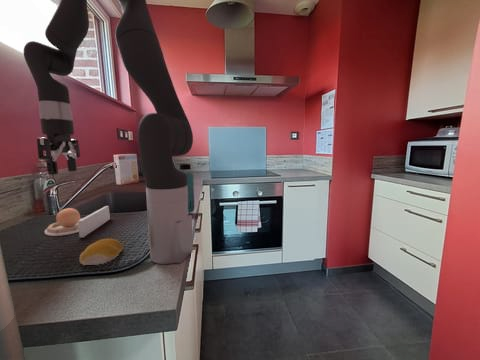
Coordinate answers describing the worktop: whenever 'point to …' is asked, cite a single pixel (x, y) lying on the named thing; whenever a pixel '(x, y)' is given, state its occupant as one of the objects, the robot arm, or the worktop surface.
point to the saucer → (61, 229)
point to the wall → (93, 221)
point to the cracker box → (126, 169)
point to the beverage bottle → (189, 186)
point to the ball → (68, 217)
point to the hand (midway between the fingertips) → (63, 172)
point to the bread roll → (101, 252)
